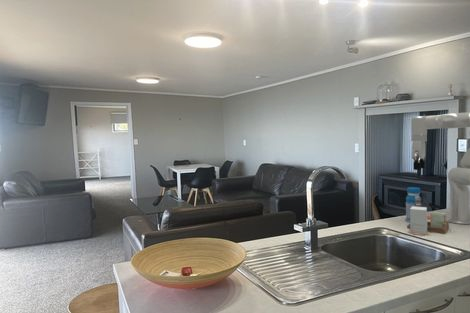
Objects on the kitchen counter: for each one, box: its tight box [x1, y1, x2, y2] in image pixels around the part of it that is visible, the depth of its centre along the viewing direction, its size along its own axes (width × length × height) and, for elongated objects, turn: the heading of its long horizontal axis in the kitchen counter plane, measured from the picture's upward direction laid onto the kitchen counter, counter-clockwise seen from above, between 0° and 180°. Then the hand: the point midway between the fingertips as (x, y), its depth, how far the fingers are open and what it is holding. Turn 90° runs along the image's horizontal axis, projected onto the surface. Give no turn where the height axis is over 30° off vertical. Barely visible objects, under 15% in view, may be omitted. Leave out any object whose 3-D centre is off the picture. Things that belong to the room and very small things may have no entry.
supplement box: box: [409, 206, 428, 234], centre depth 172 cm, size 7×7×13 cm
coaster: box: [408, 229, 429, 236], centre depth 172 cm, size 9×9×1 cm
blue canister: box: [405, 186, 423, 223], centre depth 195 cm, size 8×8×20 cm
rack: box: [406, 211, 450, 235], centre depth 178 cm, size 11×18×9 cm, turn 48°
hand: (419, 168), depth 183 cm, fingers open, 9 cm apart
